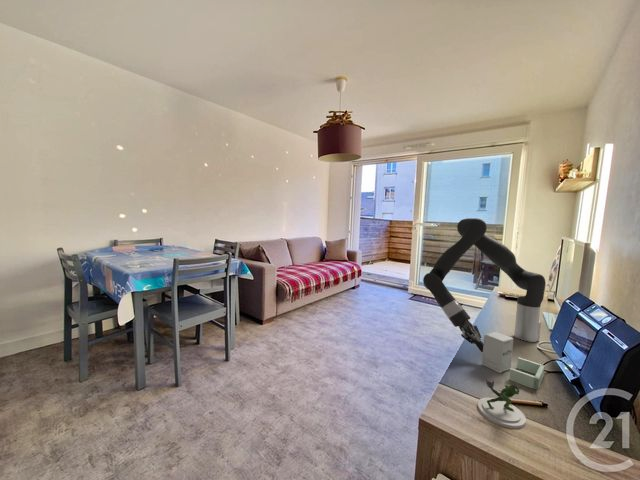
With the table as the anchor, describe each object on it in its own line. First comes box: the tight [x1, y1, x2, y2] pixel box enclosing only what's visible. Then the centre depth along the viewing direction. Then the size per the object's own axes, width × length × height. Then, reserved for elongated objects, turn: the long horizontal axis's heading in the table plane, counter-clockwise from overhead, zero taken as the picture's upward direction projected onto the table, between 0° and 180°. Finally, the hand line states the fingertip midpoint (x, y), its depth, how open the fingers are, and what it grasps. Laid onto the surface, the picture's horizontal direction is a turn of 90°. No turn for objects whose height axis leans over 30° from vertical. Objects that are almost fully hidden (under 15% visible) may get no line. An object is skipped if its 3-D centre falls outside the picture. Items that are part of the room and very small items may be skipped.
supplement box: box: [481, 331, 514, 374], centre depth 108 cm, size 7×7×13 cm
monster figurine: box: [477, 378, 527, 429], centre depth 82 cm, size 12×12×10 cm
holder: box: [508, 356, 546, 391], centre depth 101 cm, size 8×13×4 cm, turn 134°
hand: (484, 350), depth 112 cm, fingers closed
